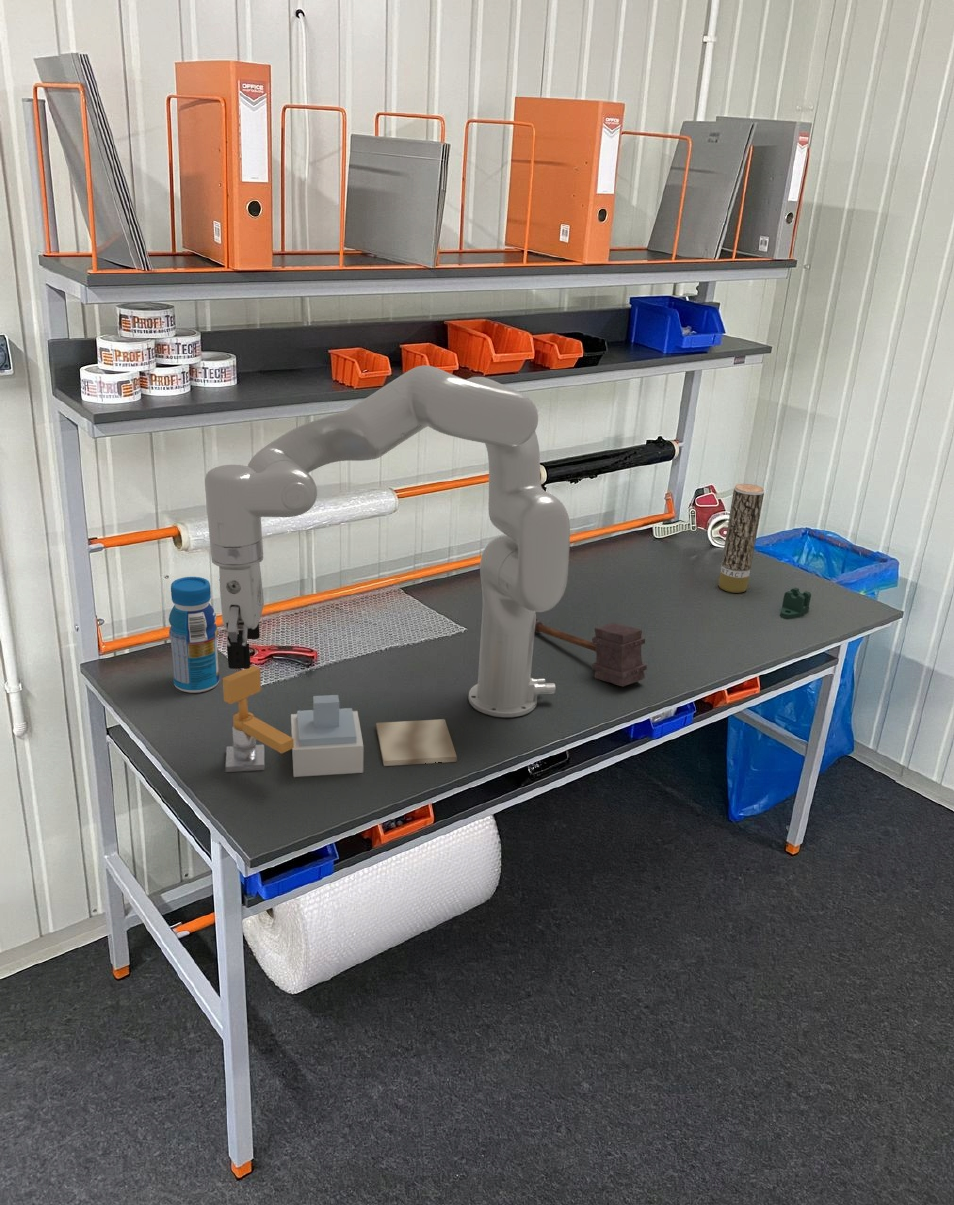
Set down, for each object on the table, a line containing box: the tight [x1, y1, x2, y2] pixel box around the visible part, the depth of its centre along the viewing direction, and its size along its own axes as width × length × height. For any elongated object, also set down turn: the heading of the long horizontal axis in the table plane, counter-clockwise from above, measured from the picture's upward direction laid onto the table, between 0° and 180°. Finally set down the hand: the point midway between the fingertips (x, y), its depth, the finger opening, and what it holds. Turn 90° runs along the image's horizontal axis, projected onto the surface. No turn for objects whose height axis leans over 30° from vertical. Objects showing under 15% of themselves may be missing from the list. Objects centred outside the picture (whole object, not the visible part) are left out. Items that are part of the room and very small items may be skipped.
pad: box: [375, 718, 458, 767], centre depth 171 cm, size 12×12×1 cm
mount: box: [779, 587, 812, 620], centre depth 231 cm, size 11×4×5 cm, turn 137°
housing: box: [290, 710, 364, 778], centre depth 166 cm, size 11×11×5 cm
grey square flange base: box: [225, 724, 265, 773], centre depth 163 cm, size 6×6×6 cm
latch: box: [222, 664, 294, 755], centre depth 157 cm, size 12×6×9 cm, turn 50°
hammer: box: [534, 618, 648, 687], centre depth 204 cm, size 7×33×10 cm, turn 37°
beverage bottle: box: [168, 576, 220, 694], centre depth 183 cm, size 8×8×20 cm
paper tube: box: [718, 483, 765, 594], centre depth 238 cm, size 7×7×25 cm
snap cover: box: [296, 694, 357, 746], centre depth 164 cm, size 9×9×6 cm
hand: (244, 652), depth 157 cm, fingers open, 9 cm apart
